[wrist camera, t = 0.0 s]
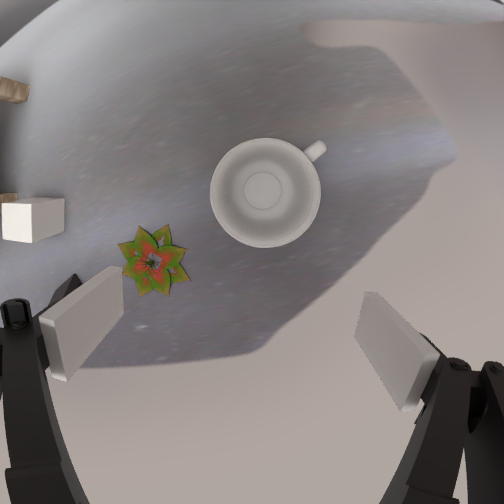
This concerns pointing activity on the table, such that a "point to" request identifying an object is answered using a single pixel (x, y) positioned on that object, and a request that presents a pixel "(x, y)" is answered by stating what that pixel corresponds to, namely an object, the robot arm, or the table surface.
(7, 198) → the trapdoor frame
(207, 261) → the table surface
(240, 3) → the table surface
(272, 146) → the teacup
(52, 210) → the white rectangular block
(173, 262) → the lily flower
